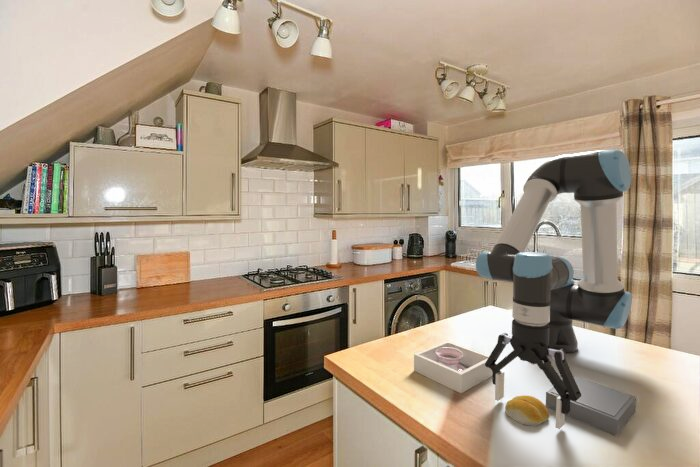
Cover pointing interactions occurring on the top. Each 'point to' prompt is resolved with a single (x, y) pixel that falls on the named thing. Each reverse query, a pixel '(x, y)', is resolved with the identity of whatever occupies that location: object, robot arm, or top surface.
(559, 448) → the top surface
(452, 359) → the teacup
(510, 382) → the top surface
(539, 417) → the bread roll
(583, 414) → the grey square block
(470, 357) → the white open box
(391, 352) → the top surface
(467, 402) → the top surface
